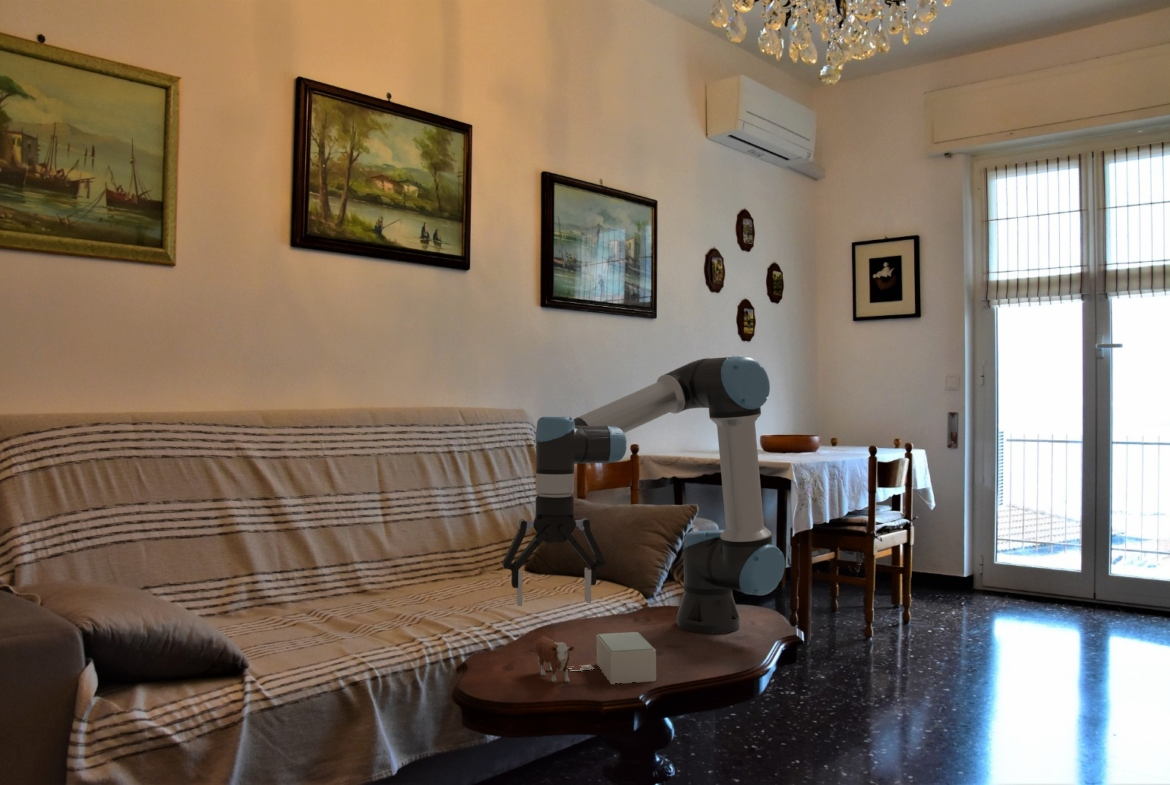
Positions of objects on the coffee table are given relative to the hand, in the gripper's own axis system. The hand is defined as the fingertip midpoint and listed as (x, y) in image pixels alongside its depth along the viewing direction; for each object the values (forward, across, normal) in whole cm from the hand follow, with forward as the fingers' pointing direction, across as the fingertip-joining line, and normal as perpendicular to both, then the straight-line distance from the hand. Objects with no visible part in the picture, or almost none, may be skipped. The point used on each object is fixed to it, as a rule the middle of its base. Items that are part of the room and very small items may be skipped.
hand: (553, 603), depth 172 cm
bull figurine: (+15, 0, 0) cm, 15 cm away
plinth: (+15, -15, -1) cm, 21 cm away
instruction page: (+15, -7, -5) cm, 17 cm away
